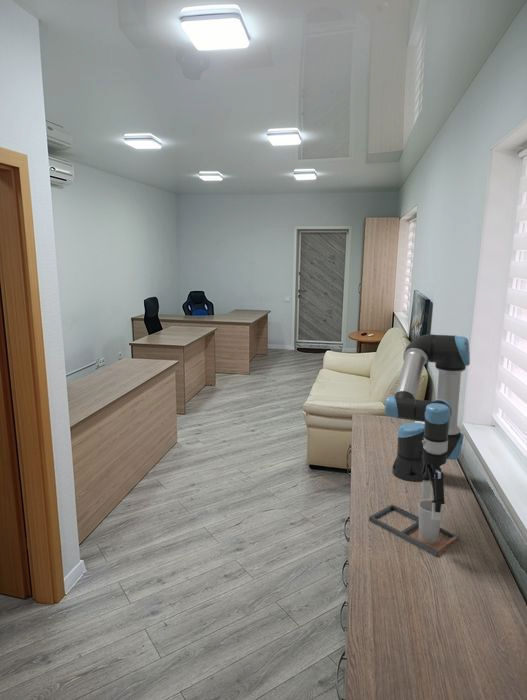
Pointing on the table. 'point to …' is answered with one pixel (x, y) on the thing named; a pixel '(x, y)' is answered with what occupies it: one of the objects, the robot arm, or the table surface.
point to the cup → (428, 522)
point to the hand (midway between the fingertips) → (430, 508)
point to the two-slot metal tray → (414, 537)
